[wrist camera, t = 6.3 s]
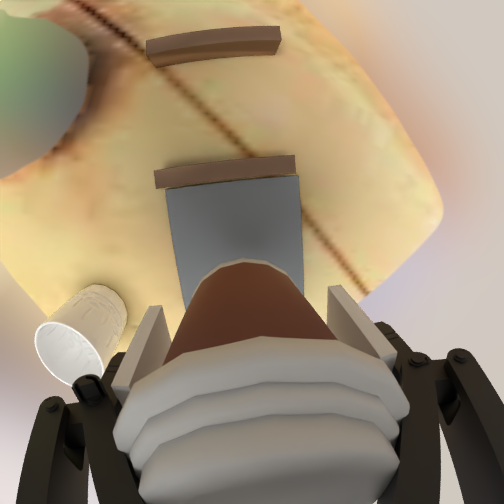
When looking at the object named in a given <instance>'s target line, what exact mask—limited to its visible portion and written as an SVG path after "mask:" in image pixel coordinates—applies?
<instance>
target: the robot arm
mask: <svg viewBox="0 0 504 504" xmlns="http://www.w3.org/2000/svg"><path fill="white" fill-rule="evenodd" d="M327 326H328V328H329V329H330V330H331V332H332V333H333V334H334V335H335V337H336V338H337V339H338V341H340V342H342V343H344V344H346V345H349V346H351V347H353V348H355V349H357V350H360V351H362V352H364V353H366V354H369V355H371V356H373V357H375V358H378V359H380V360H382V361H384V362H385V364H386V365H387V367H388V368H389V369H390V371H391V372H392V374H393V375H394V377H395V379H396V380H397V382H398V384H399V386H400V387H401V389H402V391H403V393H404V395H405V396H406V398H407V400H408V402H409V405H410V409H409V414H408V415H407V416H406V417H403V418H402V420H401V423H400V425H399V435H398V439H397V444H396V446H395V448H394V451H395V453H396V455H397V457H398V459H399V461H400V463H399V466H398V469H397V471H396V473H395V475H394V477H393V478H392V480H391V481H390V483H389V484H388V486H387V488H386V489H385V491H384V492H383V493H382V495H381V496H380V497H379V498H378V501H377V504H439V501H440V500H439V499H440V481H441V450H440V429H439V423H440V426H441V429H442V431H443V434H444V437H445V440H446V442H447V446H448V449H449V452H450V455H451V458H452V461H453V464H454V468H455V471H456V474H457V478H458V481H459V485H460V489H461V492H462V496H463V500H464V504H504V404H503V402H502V401H501V399H500V397H499V396H498V394H497V392H496V391H495V389H494V387H493V386H492V384H491V382H490V381H489V379H488V378H487V376H486V375H485V373H484V372H483V370H482V368H481V367H480V365H479V364H478V362H477V361H476V359H475V358H474V357H473V355H472V354H471V353H470V352H469V351H467V350H465V349H461V348H457V349H453V350H451V351H449V352H448V355H447V358H446V359H442V360H431V359H430V358H429V357H428V356H427V355H426V354H423V353H420V352H413V351H412V350H411V349H410V347H409V346H408V345H407V344H406V343H405V342H404V341H403V339H402V338H401V337H400V336H399V335H398V334H397V333H395V331H394V329H392V327H391V326H390V325H388V324H385V323H384V322H377V323H373V322H372V321H371V320H370V319H369V317H368V316H367V315H366V314H365V313H364V311H363V310H362V309H361V308H360V307H359V306H358V304H357V303H356V302H355V301H354V300H353V299H352V297H351V296H350V295H349V294H348V293H347V292H346V291H345V289H344V288H343V287H342V286H341V285H336V286H329V287H328V305H327ZM171 344H172V343H171V339H170V335H169V332H168V328H167V324H166V320H165V316H164V312H163V308H162V305H159V306H149V307H148V309H147V311H146V313H145V315H144V317H143V319H142V321H141V323H140V325H139V327H138V329H137V331H136V333H135V335H134V337H133V339H132V341H131V343H130V345H129V348H128V350H127V352H118V353H117V354H116V355H115V356H113V357H112V358H111V360H110V362H109V364H108V367H107V368H106V370H105V372H104V374H103V376H102V377H101V379H100V377H99V376H97V375H94V374H87V375H83V376H81V377H79V378H78V379H76V380H75V381H74V383H73V384H72V389H73V391H74V393H75V395H76V397H77V399H78V400H79V402H78V403H72V404H65V402H64V400H63V399H62V398H61V397H59V396H52V397H49V398H47V399H45V400H44V401H43V402H42V403H41V405H40V407H39V410H38V413H37V416H36V419H35V422H34V426H33V429H32V432H31V436H30V440H29V443H28V447H27V451H26V455H25V459H24V463H23V467H22V472H21V477H20V482H19V487H18V493H17V499H16V504H88V475H89V464H90V469H91V473H92V478H93V482H94V485H95V489H96V493H97V497H98V501H99V504H146V503H145V502H144V500H143V499H142V497H141V496H140V494H139V491H138V490H139V485H140V480H139V479H138V477H137V476H136V474H135V471H134V468H133V465H132V462H131V461H130V460H129V458H128V457H127V455H126V454H125V453H124V452H122V451H120V450H118V449H117V446H116V443H115V440H114V436H113V430H114V427H115V424H116V421H117V418H118V416H119V414H120V412H121V410H122V407H123V405H124V403H125V401H126V399H127V397H128V395H129V393H130V391H131V389H132V386H133V384H134V383H136V382H137V381H139V380H141V379H142V378H144V377H146V376H147V375H149V374H151V373H152V372H154V371H155V370H157V369H159V368H160V367H162V365H163V362H164V360H165V358H166V355H167V353H168V351H169V348H170V346H171Z"/></svg>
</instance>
